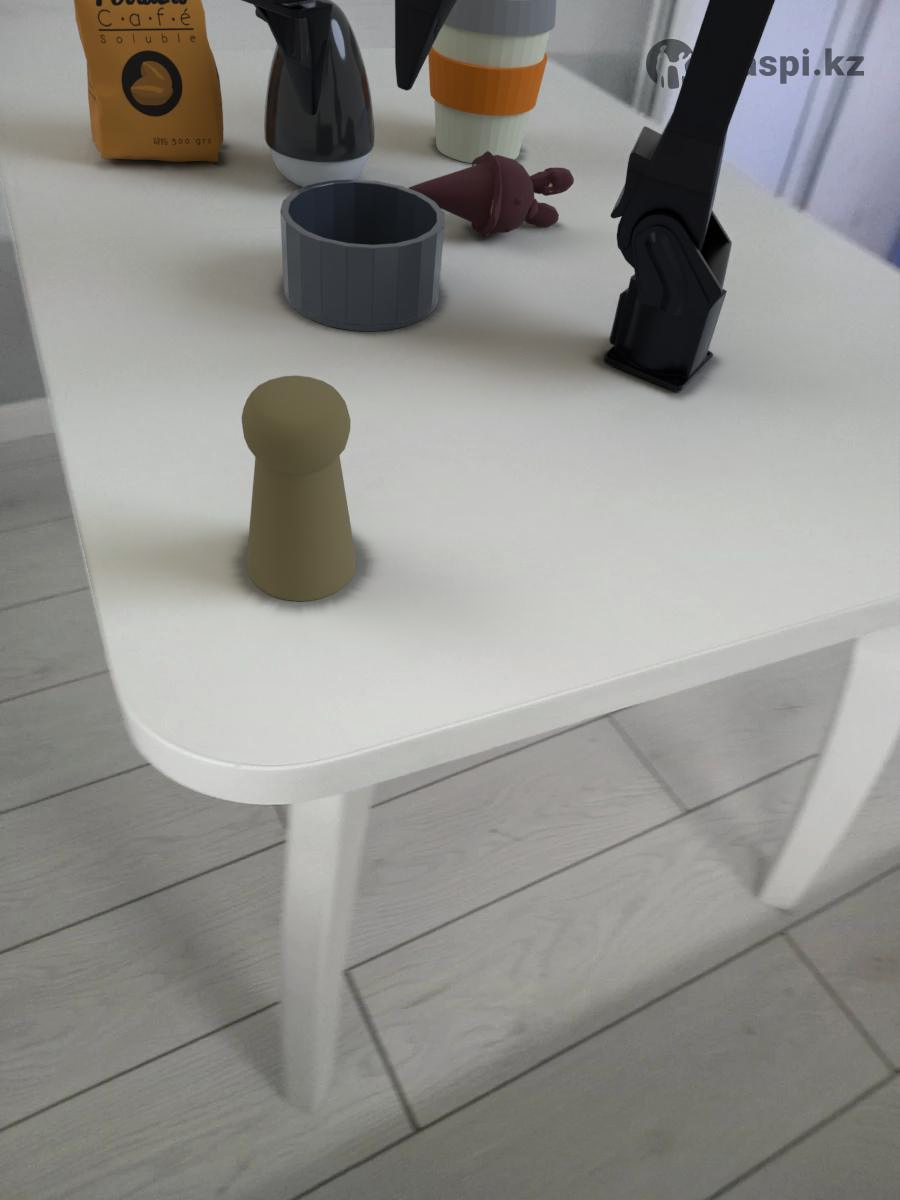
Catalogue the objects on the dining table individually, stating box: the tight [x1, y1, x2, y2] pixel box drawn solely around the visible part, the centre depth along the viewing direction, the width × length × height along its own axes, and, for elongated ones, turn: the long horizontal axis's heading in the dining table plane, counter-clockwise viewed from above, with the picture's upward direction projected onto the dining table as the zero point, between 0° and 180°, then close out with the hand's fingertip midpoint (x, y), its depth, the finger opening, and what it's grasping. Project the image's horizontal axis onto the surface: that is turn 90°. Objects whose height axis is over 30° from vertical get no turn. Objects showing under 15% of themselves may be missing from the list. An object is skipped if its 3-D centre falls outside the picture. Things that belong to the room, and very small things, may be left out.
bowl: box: [279, 179, 445, 332], centre depth 71 cm, size 12×12×6 cm
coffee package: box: [73, 0, 225, 163], centre depth 82 cm, size 10×12×22 cm
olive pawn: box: [241, 375, 357, 602], centre depth 47 cm, size 6×6×11 cm
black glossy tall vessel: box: [254, 0, 375, 188], centre depth 83 cm, size 10×10×15 cm
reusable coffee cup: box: [427, 0, 557, 164], centre depth 93 cm, size 13×13×15 cm
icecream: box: [407, 151, 575, 239], centre depth 81 cm, size 7×7×15 cm
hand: (358, 100), depth 64 cm, fingers open, 9 cm apart
